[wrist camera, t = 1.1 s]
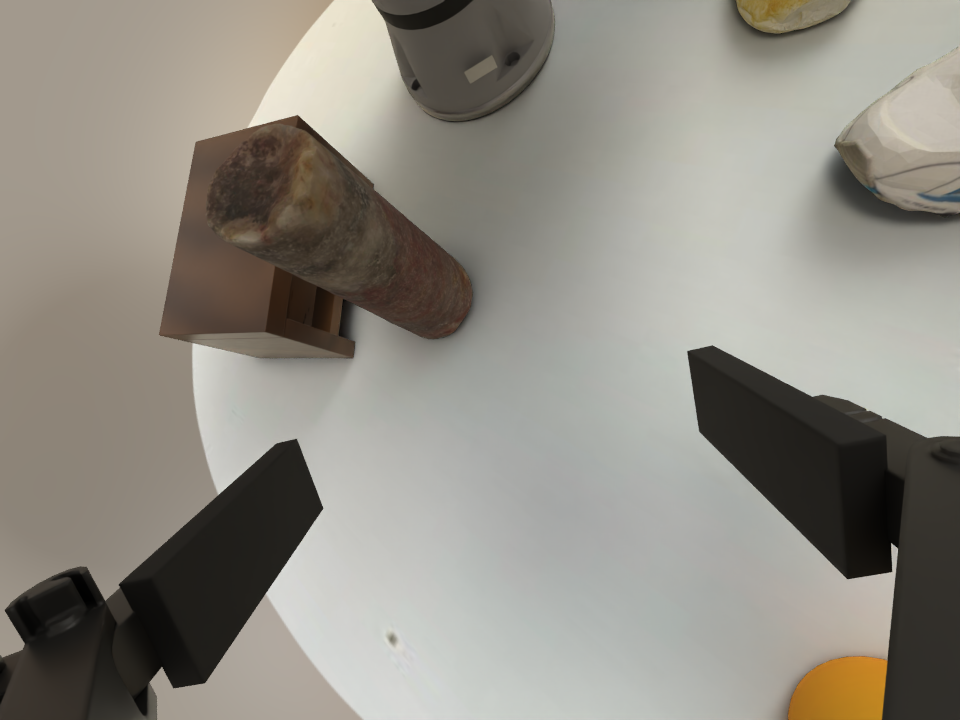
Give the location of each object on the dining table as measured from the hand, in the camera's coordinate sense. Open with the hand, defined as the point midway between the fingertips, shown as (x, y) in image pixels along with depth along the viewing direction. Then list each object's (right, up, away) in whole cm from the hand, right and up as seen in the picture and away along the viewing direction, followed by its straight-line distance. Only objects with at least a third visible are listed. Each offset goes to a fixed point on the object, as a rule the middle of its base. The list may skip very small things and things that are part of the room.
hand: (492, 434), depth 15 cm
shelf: (-17, +11, +32) cm, 38 cm away
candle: (-4, +8, +26) cm, 28 cm away
